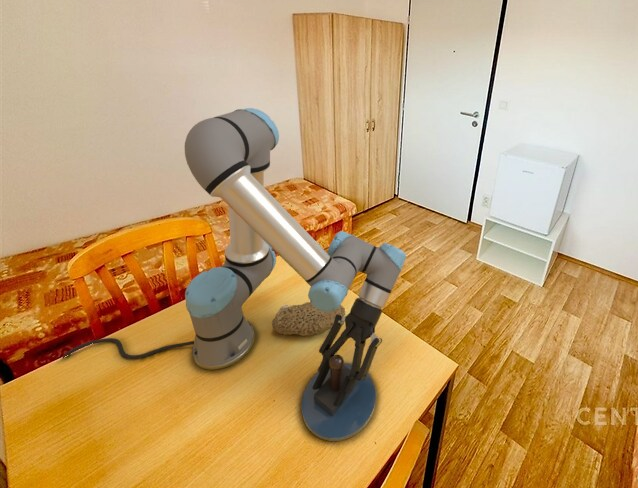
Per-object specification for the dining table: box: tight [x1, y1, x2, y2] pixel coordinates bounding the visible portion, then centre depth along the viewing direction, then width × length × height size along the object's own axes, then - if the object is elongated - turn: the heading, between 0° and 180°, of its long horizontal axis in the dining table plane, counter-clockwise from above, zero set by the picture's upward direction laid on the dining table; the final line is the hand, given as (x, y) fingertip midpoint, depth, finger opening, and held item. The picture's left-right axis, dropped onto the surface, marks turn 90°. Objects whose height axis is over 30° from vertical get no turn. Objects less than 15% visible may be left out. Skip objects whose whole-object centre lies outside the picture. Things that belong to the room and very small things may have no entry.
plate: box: [301, 362, 377, 442], centre depth 79 cm, size 18×18×1 cm
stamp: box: [314, 354, 359, 416], centre depth 77 cm, size 10×6×13 cm, turn 148°
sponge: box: [271, 301, 346, 337], centre depth 97 cm, size 13×8×20 cm
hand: (326, 396), depth 75 cm, fingers closed on stamp, 6 cm apart
